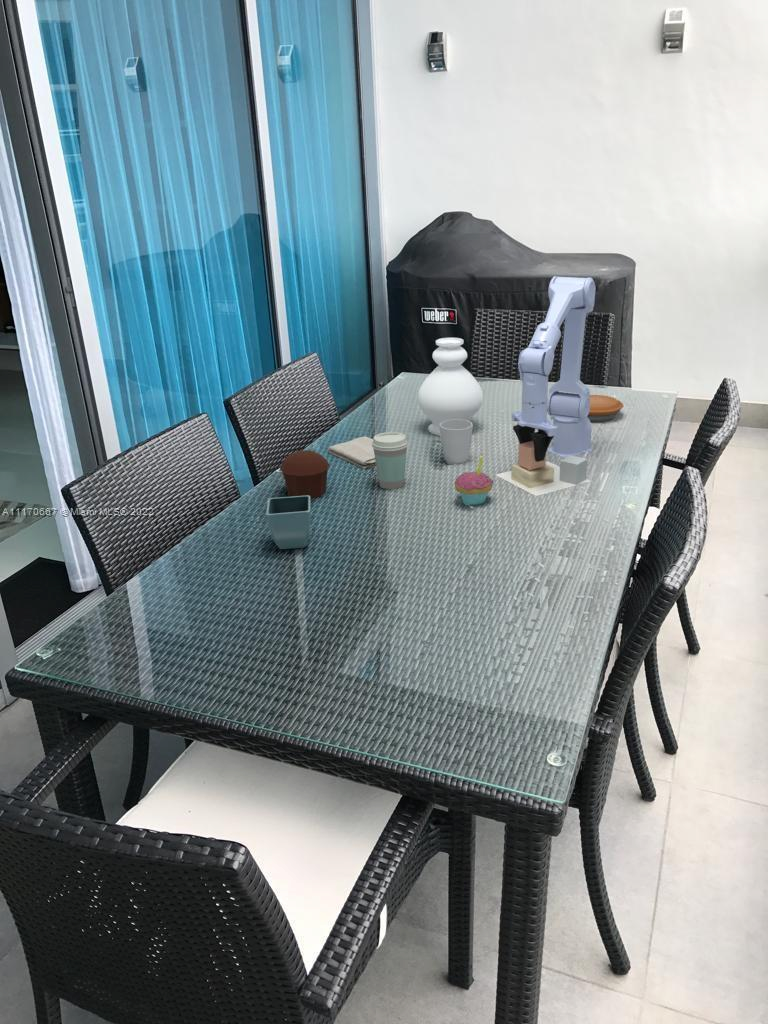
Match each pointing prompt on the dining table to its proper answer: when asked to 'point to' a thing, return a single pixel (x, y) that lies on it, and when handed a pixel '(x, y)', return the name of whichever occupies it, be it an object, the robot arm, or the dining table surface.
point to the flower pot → (289, 521)
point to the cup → (456, 440)
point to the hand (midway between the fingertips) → (533, 457)
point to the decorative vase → (449, 387)
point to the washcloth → (356, 452)
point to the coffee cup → (390, 458)
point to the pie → (603, 408)
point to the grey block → (573, 469)
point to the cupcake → (474, 486)
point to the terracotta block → (528, 456)
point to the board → (546, 487)
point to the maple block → (532, 475)
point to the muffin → (305, 473)
